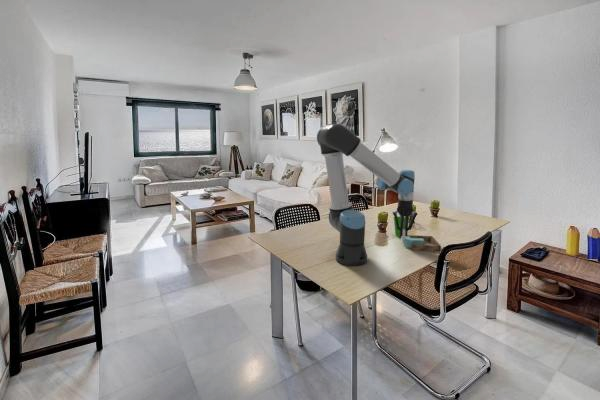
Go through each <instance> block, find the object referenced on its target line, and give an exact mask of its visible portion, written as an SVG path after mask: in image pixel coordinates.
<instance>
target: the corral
mask: <svg viewBox="0 0 600 400" xmlns="http://www.w3.org/2000/svg"><path fill="white" fill-rule="evenodd" d="M407 236H409V237H410V238H423V239H424V243H425V242H429V243H430V244H424V245H418V244H412V247H411V248H410V250H411V251H414V252H415V251H416V252H438V253H439V252H441V250H442V249H441V248H442V245H440V243H439V242H438V241H437V240H436V239H435V237H434V236H433V235H413V234H412V235H410V234H407Z"/></svg>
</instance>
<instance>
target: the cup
mask: <svg viewBox="0 0 600 400" xmlns="http://www.w3.org/2000/svg"><path fill="white" fill-rule="evenodd" d="M397 218H398V223H399V227H400V215H397ZM392 219H393V223H394V224H393V225H394V231H395V233H394V235H395V237H396V238H401V236H400V230H398V229H397V227H396V223H395V218H394V217H393V218H392ZM408 222H410V218H409V219H408ZM403 230H405V217H404V220H403Z"/></svg>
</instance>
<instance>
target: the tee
mask: <svg viewBox="0 0 600 400" xmlns="http://www.w3.org/2000/svg"><path fill="white" fill-rule="evenodd" d="M402 244H403V246H404V247H405V249H411V247H412V244H418V245H425V242H424V239H423V238H410V237H409V236H405V243H402Z"/></svg>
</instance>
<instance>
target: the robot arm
mask: <svg viewBox="0 0 600 400" xmlns="http://www.w3.org/2000/svg"><path fill="white" fill-rule="evenodd" d="M316 141H317V143H318V146H319V147H320V153H321V156H323V157H324V159H325V165H326V166H325V168H326V174H327V181H328V188H329V192H330V193H329V194H330V200H331V204H330V205H329V207H328V208H329V213H328V221H329V223H330V225H331V226H332V228H334V229H335V230H336V231H337V232H338V233H339V245H338V247H337V251H336V254H335V261H336V262H337V263H339V264H341V265H344V266H350V267H351V266H352V267H353V266H354V267H356V266H357V267H359V266H363V265H365V264H367V263H368V258H369V257H368V254H367V253H368V252H367V249H366V247H365V237H366V236H365V234H366V216H365V214H364V213H363V212H362V211H359V210H355V209H353V203H351V202H350V200H349V196H348V194H349V193H348V187H347V186H348V185H347V178H346V172H345V165H344V158H343V157H344V156H343V155H345V156H346V157H351V158H352V159H354V160H355V161H356V162H358V163H359V164H360V165H362V167H364V168H365V169H367V170H368V171H369V172H370V173H372V174H373V175H374V176H375V177H377V179H376V186H377V188H378V189H379V190H381V191H382V190H384V191H385V190H387V191H388V190H389V191H392V192H394V193H396V194H398V196H397V198H398V199H397V200H398V201H397V208H396V210H394V211H392V212H391V213H392V215H393V216H394V217H393V218H395V223H396V227H397V229H398V230H400V236H401V237H400V238H401V239H400V241H401V243H402V244H403V243H405V236H407V235H408V231H411V230H412V228H413V225H414V222H415V219H416V217H417V216H418V212H417V211H414V208H413V207H414V206H413V205H414V200H413V199H414V192H415V191H414V190H415V189H414V188H415V180H416V179H415V178H416V177H415V171H414V170H411V169H400V170H399V172H398V171H397V170H396V169H394V168H393V167H392V166H391V165H389V164H388V163H387V162H385V161H384V159H382V158H381V157H379V156H378V155H377V154H376V153H374V152H373V151H372V150H371V149H369V147H367V146H366V145H365V144H363V143H362V140H361V138H360V137H359V136H358V135H356V134H355V133H354V131H351V130H350V129H349V128H348V127H346V126H345V125H343V124H340V123H328V124H325V125H323V126H321V127H320V128H319V130H318V131H317V133H316ZM411 214H412V215H411ZM397 216H400V227H399V223H398V218H397ZM410 216H411V218H410ZM404 217H405V230H403V220H404ZM408 219H409V221H408Z"/></svg>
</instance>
